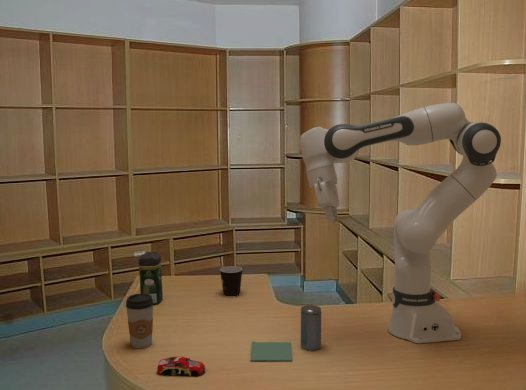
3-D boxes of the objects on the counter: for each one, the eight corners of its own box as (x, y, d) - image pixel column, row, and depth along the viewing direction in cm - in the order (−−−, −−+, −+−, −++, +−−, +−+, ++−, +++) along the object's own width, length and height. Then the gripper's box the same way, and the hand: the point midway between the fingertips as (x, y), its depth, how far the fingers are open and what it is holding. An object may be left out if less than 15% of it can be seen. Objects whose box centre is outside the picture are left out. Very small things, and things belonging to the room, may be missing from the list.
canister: (319, 342, 169) (320, 305, 167) (321, 350, 163) (321, 312, 161) (300, 342, 169) (300, 305, 167) (301, 350, 163) (301, 312, 161)
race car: (207, 369, 153) (207, 355, 152) (203, 378, 147) (203, 364, 147) (161, 366, 154) (160, 353, 153) (155, 376, 149) (155, 362, 148)
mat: (290, 343, 168) (290, 342, 168) (292, 361, 156) (292, 359, 156) (251, 343, 168) (251, 342, 168) (250, 361, 156) (250, 360, 156)
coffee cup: (128, 351, 163) (125, 303, 161) (127, 340, 171) (124, 294, 169) (156, 348, 166) (154, 300, 163) (154, 337, 173) (152, 291, 171)
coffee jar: (143, 296, 211) (141, 250, 208) (164, 296, 211) (162, 249, 208) (138, 305, 201) (135, 257, 198) (159, 305, 201) (157, 256, 198)
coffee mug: (239, 298, 208) (239, 273, 206) (217, 297, 210) (217, 272, 208) (246, 288, 219) (246, 264, 218) (225, 287, 221) (225, 263, 219)
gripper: (326, 173, 160) (338, 218, 158) (336, 179, 179) (347, 219, 178) (306, 178, 161) (317, 224, 160) (318, 184, 181) (328, 224, 179)
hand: (333, 221), depth 169 cm, fingers open, 8 cm apart
